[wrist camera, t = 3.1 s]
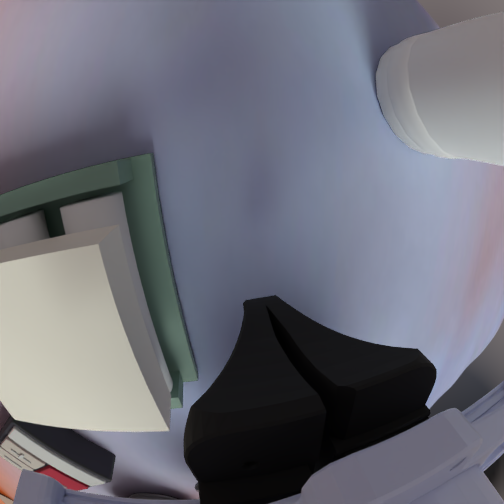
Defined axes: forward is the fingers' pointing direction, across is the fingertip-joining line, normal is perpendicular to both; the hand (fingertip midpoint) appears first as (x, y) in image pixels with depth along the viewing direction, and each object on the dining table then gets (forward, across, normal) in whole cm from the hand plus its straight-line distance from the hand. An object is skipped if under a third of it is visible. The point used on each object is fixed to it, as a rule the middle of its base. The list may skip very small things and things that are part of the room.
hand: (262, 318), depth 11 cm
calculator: (+6, +24, +18) cm, 31 cm away
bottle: (+5, -12, -10) cm, 17 cm away
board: (+1, +10, 0) cm, 10 cm away
